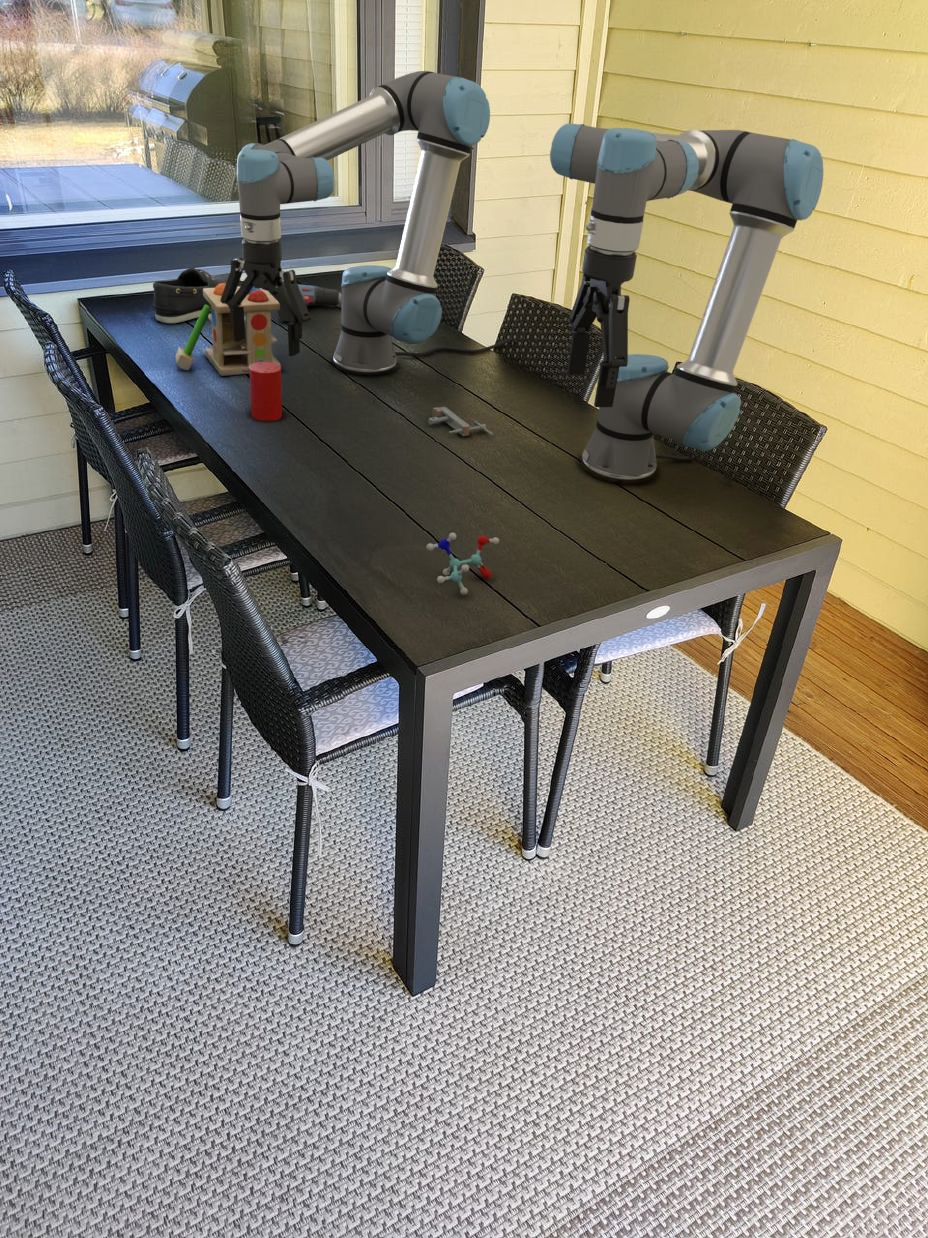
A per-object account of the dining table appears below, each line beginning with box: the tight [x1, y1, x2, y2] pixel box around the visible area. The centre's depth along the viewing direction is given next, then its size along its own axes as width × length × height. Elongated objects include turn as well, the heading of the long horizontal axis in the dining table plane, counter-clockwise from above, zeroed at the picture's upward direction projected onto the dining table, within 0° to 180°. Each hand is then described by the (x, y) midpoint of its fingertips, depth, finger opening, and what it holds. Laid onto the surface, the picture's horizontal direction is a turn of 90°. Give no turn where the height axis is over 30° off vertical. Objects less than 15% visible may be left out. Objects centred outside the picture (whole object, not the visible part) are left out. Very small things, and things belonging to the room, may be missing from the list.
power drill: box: [274, 284, 342, 322], centre depth 265 cm, size 5×19×20 cm
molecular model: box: [426, 532, 500, 596], centre depth 158 cm, size 12×10×10 cm
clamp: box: [428, 406, 495, 438], centre depth 210 cm, size 15×2×10 cm
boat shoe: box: [152, 267, 243, 324], centre depth 261 cm, size 13×33×10 cm, turn 147°
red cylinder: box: [249, 362, 283, 422], centre depth 206 cm, size 6×6×10 cm
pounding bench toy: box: [174, 283, 282, 377], centre depth 225 cm, size 23×14×18 cm, turn 116°
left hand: (266, 346), depth 201 cm, fingers open, 13 cm apart
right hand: (588, 389), depth 153 cm, fingers open, 13 cm apart
